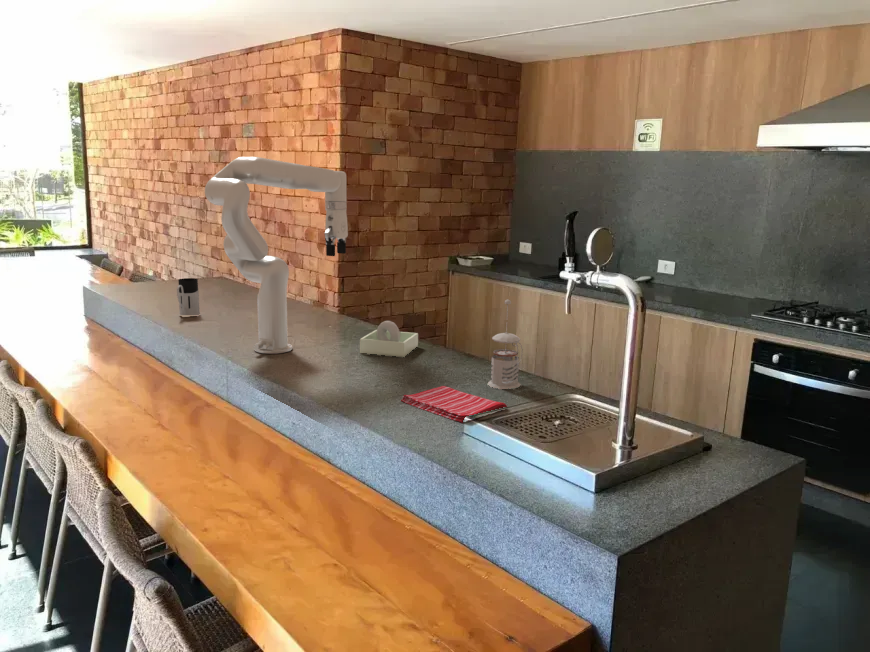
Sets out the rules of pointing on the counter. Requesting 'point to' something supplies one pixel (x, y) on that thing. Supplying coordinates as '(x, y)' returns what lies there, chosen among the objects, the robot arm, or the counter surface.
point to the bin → (389, 344)
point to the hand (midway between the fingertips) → (336, 254)
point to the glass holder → (188, 296)
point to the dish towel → (451, 403)
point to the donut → (392, 330)
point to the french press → (505, 361)
